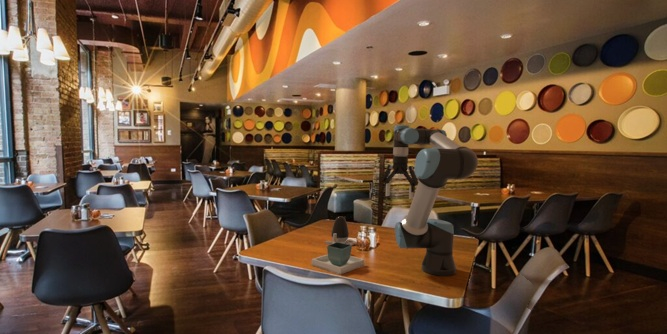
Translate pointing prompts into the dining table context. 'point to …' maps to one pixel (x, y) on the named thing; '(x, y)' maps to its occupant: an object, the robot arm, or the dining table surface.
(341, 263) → the flower pot
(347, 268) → the tray
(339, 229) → the egg in egg cup
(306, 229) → the dining table surface
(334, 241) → the pipe connector
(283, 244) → the dining table surface
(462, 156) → the robot arm
